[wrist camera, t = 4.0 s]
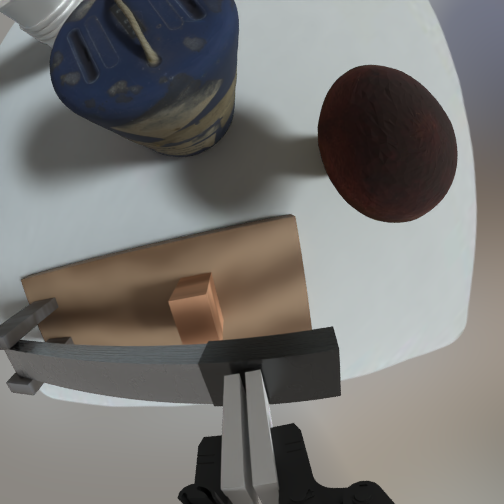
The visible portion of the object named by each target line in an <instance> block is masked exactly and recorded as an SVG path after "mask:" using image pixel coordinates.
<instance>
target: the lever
mask: <svg viewBox="0 0 504 504" xmlns="http://www.w3.org/2000/svg"><path fill="white" fill-rule="evenodd" d="M5 352H6V354H7V356H8V358H9V360H10V362H11V364H12V366H13V368H14V369H15V371H16V373H17V375H18V377H20V378H23V377H26V378H30V379H33V380H37V381H40V382H44V383H48V384H52V385H56V386H60V387H64V388H69V389H73V390H78V391H83V392H89V393H94V394H100V395H106V396H113V397H120V398H127V399H136V400H145V401H156V402H170V403H192V404H214V406H223V394H224V376H227V375H233V374H240V377H241V381H242V384H243V387H244V391H245V394H246V379H245V372H250V371H255V370H261V374H262V378H263V382H264V386H265V390H266V394H267V399H268V403H269V404H280V403H291V402H300V401H308V400H316V399H323V398H330V397H336V396H340V395H341V388H340V387H341V386H340V357H339V347H338V343H337V339H336V336H335V332H334V328H333V327H327V328H320V329H314V330H307V331H300V332H293V333H285V334H277V335H269V336H260V337H251V338H240V339H229V340H217V341H208V343H207V344H190V345H165V346H100V345H76V344H60V343H47V342H36V341H27V340H19V341H18V342H17V343H15V344H14V345H13V346H12V347H11V348H10V349H9V350H5ZM246 397H247V395H246Z"/></svg>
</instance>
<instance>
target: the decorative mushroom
mask: <svg viewBox="0 0 504 504" xmlns="http://www.w3.org/2000/svg"><path fill="white" fill-rule="evenodd" d="M318 146H319V150H320V154H321V158H322V161H323V164H324V167H325V169H326V172H327V174H328V176H329V179H330V180H331V182H332V183H333V185H334V186H335V188H336V189H337V191H338V192H339V194H340V195H341V196H342V197H343V199H344V200H345V201H346V202H347V203H348V204H350V205H351V206H352V207H353V208H355V209H356V210H357V211H359V212H360V213H362V214H363V215H365V216H367V217H369V218H372V219H374V220H378V221H383V222H389V223H400V222H408V221H412V220H415V219H417V218H419V217H421V216H423V215H425V214H426V213H427V212H429V211H430V210H432V209H433V208H434V207H435V206H436V205H437V204H438V203H439V202H440V201H441V200H442V199H443V198H444V196H445V195H446V194H447V192H448V190H449V188H450V186H451V184H452V182H453V179H454V176H455V172H456V167H457V143H456V138H455V133H454V130H453V127H452V124H451V122H450V120H449V118H448V116H447V114H446V113H445V111H444V110H443V108H442V107H441V105H440V104H439V103H438V101H437V100H436V99H435V98H434V97H433V95H432V94H431V93H430V92H429V91H428V90H427V89H426V88H425V87H424V86H423V85H421V84H420V83H419V82H418V81H416V80H415V79H414V78H412V77H411V76H409V75H407V74H405V73H404V72H402V71H399V70H396V69H393V68H389V67H385V66H378V65H363V66H358V67H355V68H353V69H351V70H349V71H347V72H346V73H345V74H343V75H342V76H341V77H339V78H338V79H337V80H336V81H335V83H334V84H333V85H332V87H331V88H330V89H329V91H328V93H327V95H326V97H325V100H324V102H323V105H322V109H321V112H320V117H319V122H318Z"/></svg>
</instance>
